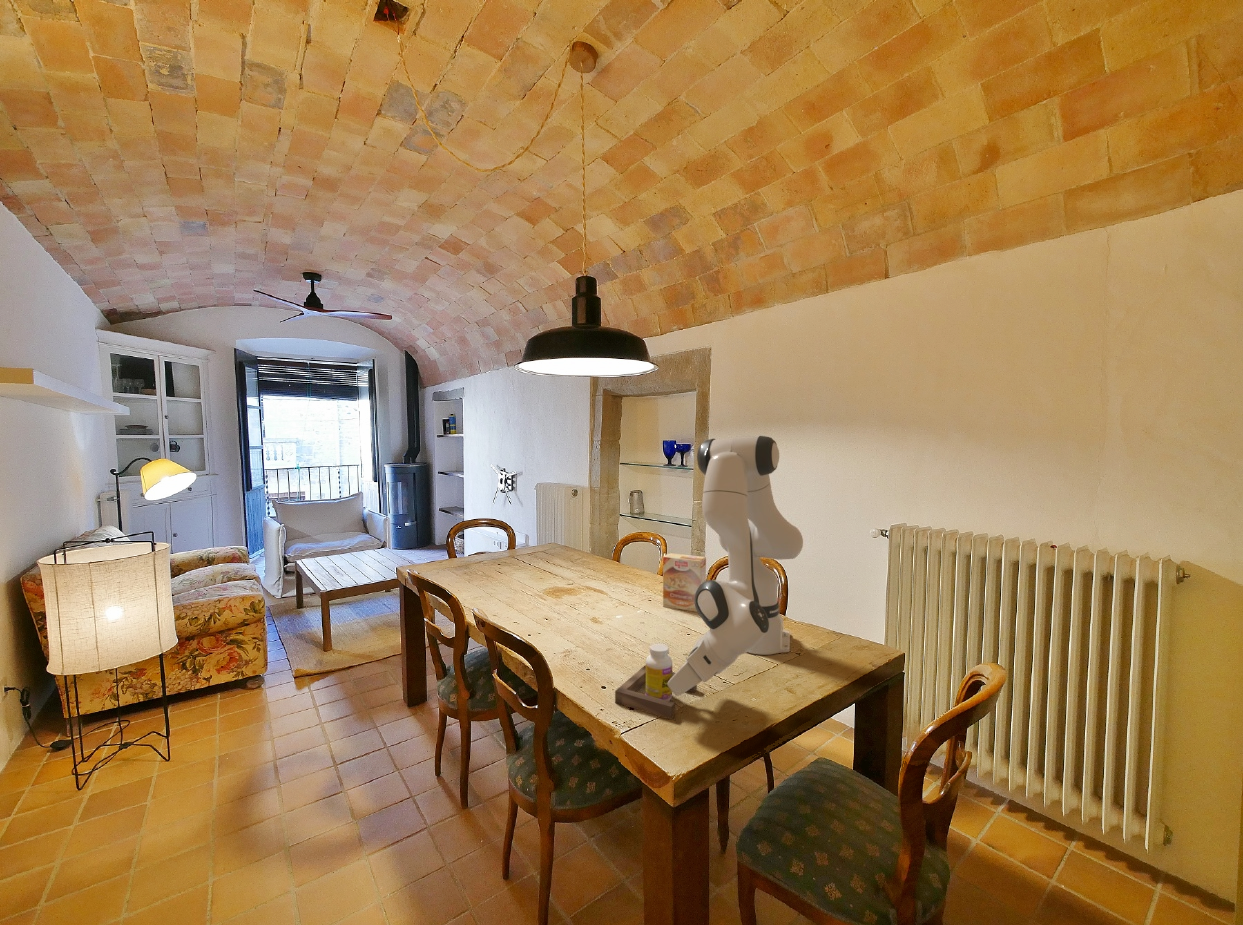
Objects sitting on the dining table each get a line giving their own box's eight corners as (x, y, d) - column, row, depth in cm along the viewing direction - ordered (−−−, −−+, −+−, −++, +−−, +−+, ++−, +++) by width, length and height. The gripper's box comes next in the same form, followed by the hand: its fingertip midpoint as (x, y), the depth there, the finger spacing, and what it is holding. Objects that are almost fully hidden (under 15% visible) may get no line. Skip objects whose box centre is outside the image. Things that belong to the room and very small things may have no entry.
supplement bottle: (663, 707, 124) (663, 655, 124) (640, 699, 128) (640, 648, 128) (677, 696, 130) (677, 646, 129) (655, 688, 134) (655, 639, 133)
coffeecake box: (662, 607, 196) (662, 556, 195) (669, 601, 203) (669, 552, 202) (700, 613, 190) (700, 560, 189) (706, 607, 196) (706, 556, 195)
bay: (645, 676, 141) (645, 665, 140) (696, 689, 133) (696, 678, 133) (615, 702, 127) (615, 690, 127) (671, 719, 119) (671, 706, 119)
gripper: (718, 627, 132) (682, 656, 137) (687, 658, 114) (648, 690, 120) (735, 648, 130) (698, 677, 135) (706, 682, 112) (665, 714, 118)
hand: (674, 683), depth 127 cm, fingers closed
